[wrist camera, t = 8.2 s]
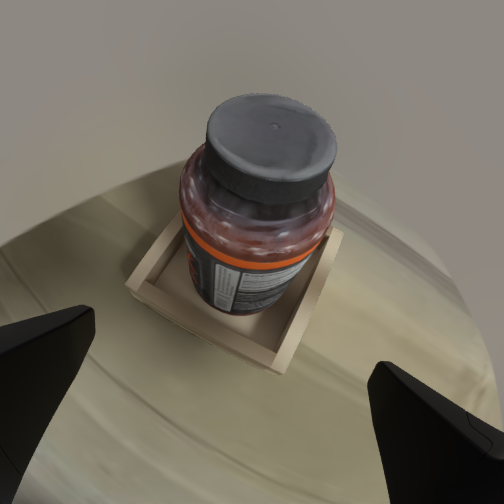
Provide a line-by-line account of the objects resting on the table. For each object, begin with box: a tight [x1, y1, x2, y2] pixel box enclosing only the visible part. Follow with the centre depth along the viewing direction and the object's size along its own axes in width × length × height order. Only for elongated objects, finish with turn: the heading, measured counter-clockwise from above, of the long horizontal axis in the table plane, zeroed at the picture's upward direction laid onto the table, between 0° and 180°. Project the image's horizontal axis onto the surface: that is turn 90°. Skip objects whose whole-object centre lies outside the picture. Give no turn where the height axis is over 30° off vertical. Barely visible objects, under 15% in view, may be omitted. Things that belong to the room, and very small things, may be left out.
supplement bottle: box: [179, 93, 337, 316], centre depth 13 cm, size 6×6×11 cm
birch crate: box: [125, 208, 344, 376], centre depth 18 cm, size 10×10×2 cm
